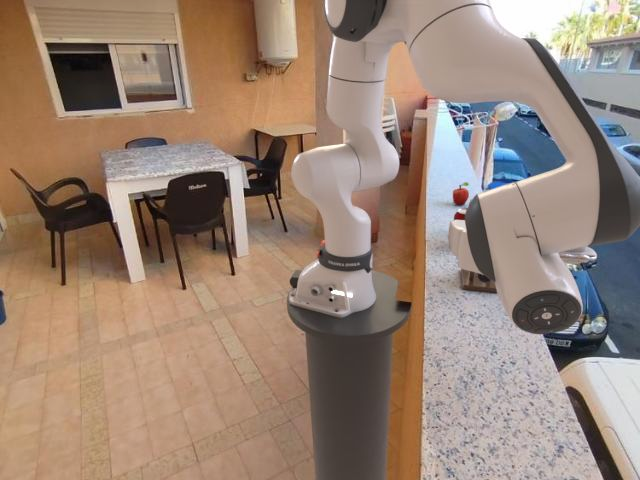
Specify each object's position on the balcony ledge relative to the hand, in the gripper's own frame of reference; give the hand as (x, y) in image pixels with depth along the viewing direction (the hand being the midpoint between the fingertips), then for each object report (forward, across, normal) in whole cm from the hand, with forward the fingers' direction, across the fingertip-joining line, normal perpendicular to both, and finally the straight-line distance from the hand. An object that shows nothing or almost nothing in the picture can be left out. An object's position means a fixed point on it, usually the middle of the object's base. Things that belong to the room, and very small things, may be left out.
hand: (506, 222), depth 68 cm
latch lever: (+19, 0, +17) cm, 25 cm away
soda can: (+43, +3, +25) cm, 50 cm away
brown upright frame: (+22, 0, +25) cm, 33 cm away
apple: (+85, +2, +25) cm, 89 cm away
